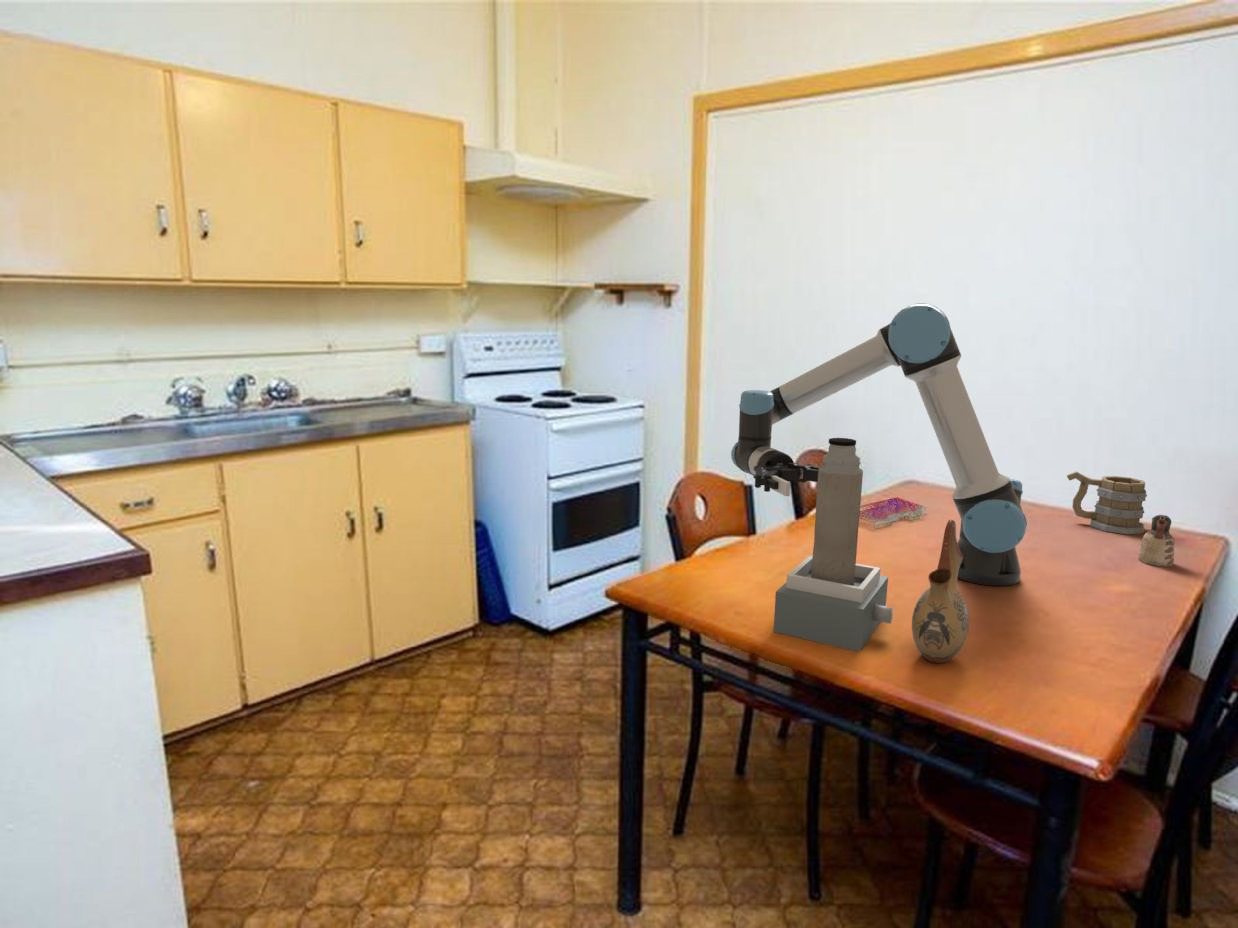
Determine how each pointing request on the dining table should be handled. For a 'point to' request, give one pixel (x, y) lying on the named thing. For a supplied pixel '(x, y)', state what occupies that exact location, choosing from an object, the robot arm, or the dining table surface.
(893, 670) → the dining table surface
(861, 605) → the box
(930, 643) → the ceramic vessel
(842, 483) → the thermos bottle
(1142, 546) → the figurine
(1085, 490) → the tankard
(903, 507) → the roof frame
